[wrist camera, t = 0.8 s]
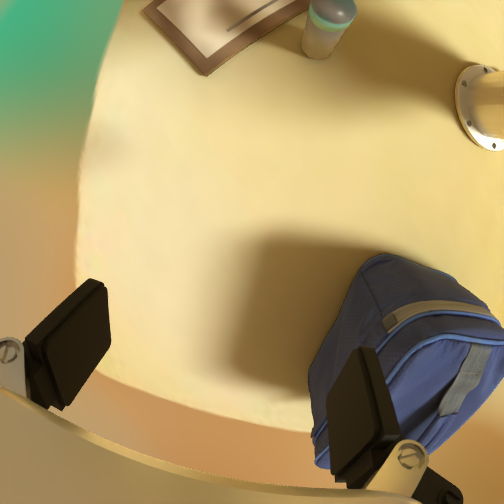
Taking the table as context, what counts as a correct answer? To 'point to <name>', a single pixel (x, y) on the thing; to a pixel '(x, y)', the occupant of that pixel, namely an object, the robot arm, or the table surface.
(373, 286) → the lunch bag
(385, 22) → the table surface
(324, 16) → the translucent bottle
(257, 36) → the board
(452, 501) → the robot arm
